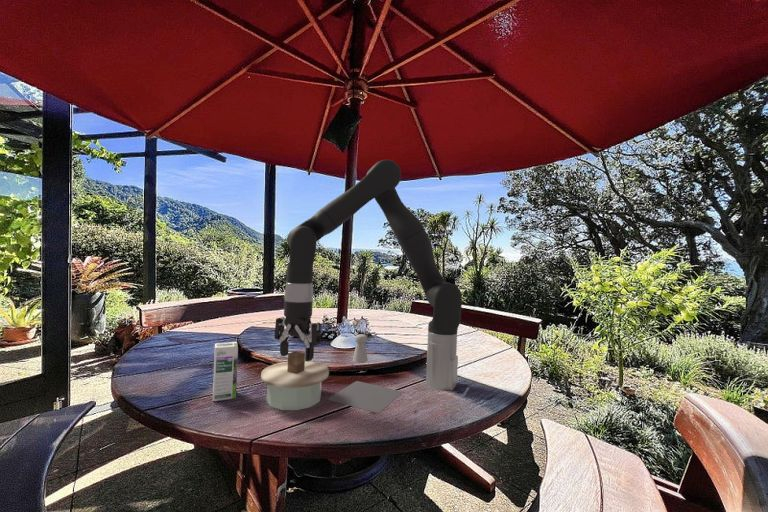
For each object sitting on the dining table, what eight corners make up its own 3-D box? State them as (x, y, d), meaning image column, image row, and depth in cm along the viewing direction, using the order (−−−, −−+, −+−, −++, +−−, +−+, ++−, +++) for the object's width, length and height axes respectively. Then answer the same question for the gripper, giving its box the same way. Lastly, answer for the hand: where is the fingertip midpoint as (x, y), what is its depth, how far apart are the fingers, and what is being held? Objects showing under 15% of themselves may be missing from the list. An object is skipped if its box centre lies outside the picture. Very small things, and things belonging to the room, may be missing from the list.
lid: (341, 371, 95) (342, 350, 95) (299, 393, 79) (300, 368, 79) (292, 360, 103) (293, 341, 103) (245, 378, 87) (246, 355, 87)
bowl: (330, 396, 94) (331, 372, 94) (297, 417, 82) (298, 388, 82) (292, 386, 100) (293, 363, 100) (255, 404, 88) (256, 377, 88)
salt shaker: (365, 375, 112) (367, 337, 112) (349, 374, 113) (351, 336, 113) (369, 370, 118) (371, 333, 118) (354, 368, 119) (355, 332, 119)
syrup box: (212, 402, 88) (215, 347, 88) (212, 393, 93) (214, 342, 93) (236, 398, 90) (238, 345, 90) (234, 390, 95) (237, 340, 96)
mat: (402, 393, 98) (402, 391, 98) (378, 415, 84) (378, 413, 84) (356, 382, 105) (356, 380, 105) (326, 401, 91) (327, 399, 91)
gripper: (328, 300, 91) (325, 359, 91) (288, 295, 98) (285, 350, 97) (310, 303, 85) (308, 366, 84) (269, 298, 91) (266, 357, 91)
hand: (296, 358), depth 91 cm, fingers open, 8 cm apart
